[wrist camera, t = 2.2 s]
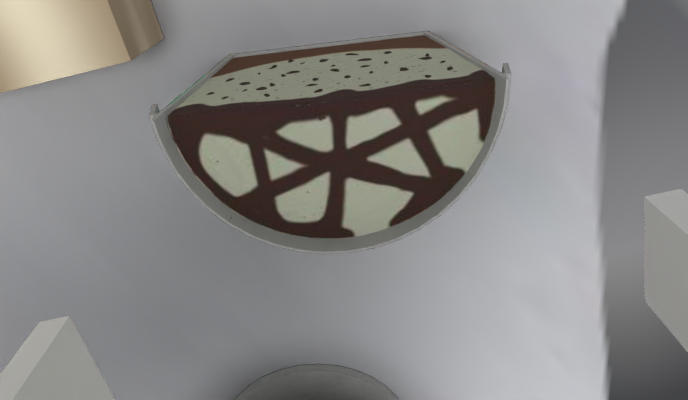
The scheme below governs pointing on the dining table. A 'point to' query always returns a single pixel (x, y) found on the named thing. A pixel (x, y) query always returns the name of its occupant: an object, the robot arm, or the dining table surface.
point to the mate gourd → (317, 385)
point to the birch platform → (70, 37)
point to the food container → (335, 138)
